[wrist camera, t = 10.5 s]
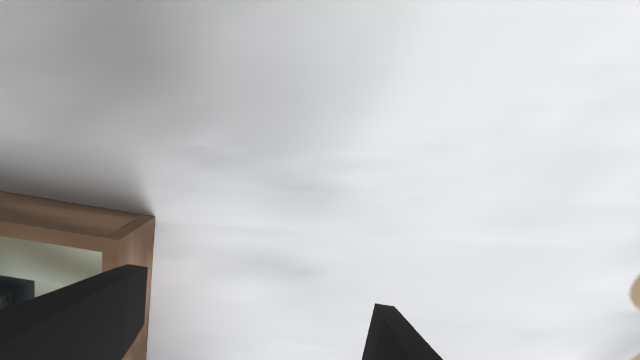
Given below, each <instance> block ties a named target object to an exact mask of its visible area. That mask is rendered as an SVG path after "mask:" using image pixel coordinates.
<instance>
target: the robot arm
mask: <svg viewBox="0 0 640 360" xmlns="http://www.w3.org/2000/svg"><path fill="white" fill-rule="evenodd" d="M147 274H148V267H144V266H138V265H132V264H126V265H123V266H119V267H116V268H113V269H111V270H108V271H105V272H102V273H100V274H97V275H94V276H92V277H89V278H86V279H84V280H81V281H78V282H76V283H73V284H70V285H68V286H65V287H62V288H60V289H57V290H54V291H52V292H49V293H46V294H43V295H40V296H37V297H34V298H32V299H29V300H26V301H23V302H20V303H17V304H14V305H11V306H8V307H5V308H3V309H0V360H122V358H123V357H124V356H125V354H126V353H127V351H128V350H129V348H130V347H131V345H132V344H133V342H134V340H135V339H136V337H137V336H138V334H139V332H140V331H141V329H142V327H143V326H144V322H145V306H146V290H147ZM362 360H443V359H442V358H441V357H440V356H439V355H438V354H437V353H436V352H435V351H434V350H433V349H432V348H431V346H430V345H429V344H428V343H427V342H426V341H425V340H424V339H423V338H422V337H421V336H420V334H419V333H418V332H417V331H416V330H415V329H414V328H413V327H412V325H411V324H410V323H409V322H408V321H407V320H406V319H405V318H404V317H403V315H402V314H401V313H400V312H399V311H398V310H397V309H396V308H395V307H394V306H388V305H381V304H375V306H374V310H373V315H372V319H371V323H370V327H369V331H368V336H367V340H366V344H365V348H364V352H363V357H362Z"/></svg>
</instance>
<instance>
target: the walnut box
mask: <svg viewBox="0 0 640 360" xmlns="http://www.w3.org/2000/svg"><path fill="white" fill-rule="evenodd" d="M154 229H155V217H152V216H146V215H140V214H134V213H128V212H122V211H115V210H109V209H103V208H97V207H91V206H85V205H79V204H73V203H67V202H61V201H55V200H49V199H43V198H37V197H31V196H25V195H19V194H13V193H7V192H1V191H0V275H2V276H8V277H15V278H21V279H27V280H34V281H35V297H37V296H40V295H43V294H46V293H49V292H52V291H54V290H57V289H60V288H62V287H65V286H68V285H70V284H73V283H76V282H78V281H81V280H84V279H86V278H89V277H92V276H94V275H97V274H100V273H102V272H105V271H108V270H111V269H113V268H116V267H119V266H123V265H126V264H132V265H138V266H144V267H148V274H147V290H146V306H145V322H144V326H143V327H142V329H141V331H140V332H139V334H138V336H137V337H136V339H135V340H134V342H133V344H132V345H131V347H130V348H129V350H128V351H127V353H126V354H125V356H124V357H123V358H122V360H146V352H147V336H148V321H149V305H150V290H151V275H152V259H153V244H154Z"/></svg>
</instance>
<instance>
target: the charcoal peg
mask: <svg viewBox="0 0 640 360" xmlns="http://www.w3.org/2000/svg"><path fill="white" fill-rule="evenodd" d="M34 297H35V281H34V280H27V279H21V278H15V277H8V276H2V275H0V309H3V308H5V307H8V306H11V305H14V304H17V303H20V302H23V301H26V300H29V299H32V298H34Z"/></svg>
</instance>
